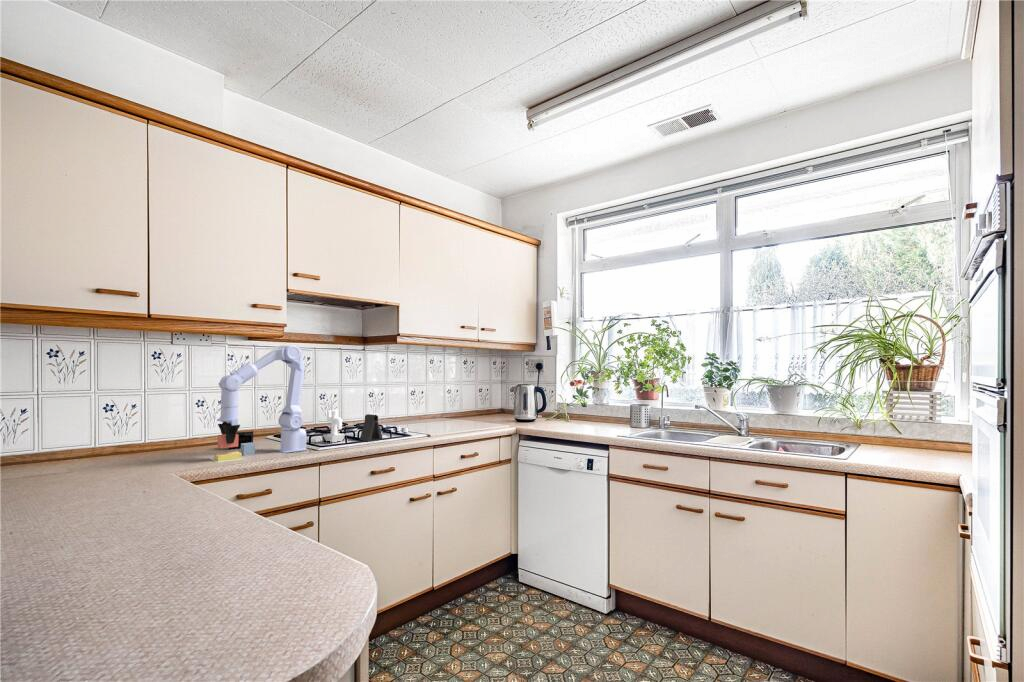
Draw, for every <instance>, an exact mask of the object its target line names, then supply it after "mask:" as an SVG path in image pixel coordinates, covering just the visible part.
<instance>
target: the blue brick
mask: <svg viewBox="0 0 1024 682" xmlns="http://www.w3.org/2000/svg"><path fill="white" fill-rule="evenodd" d="M240 453H242V456H244V457H246V456H251V455H254V456H255V454H256V444H255V443H254V442H253V443H252V442H251V443H242V444H241V449H240Z"/></svg>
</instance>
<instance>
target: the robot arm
mask: <svg viewBox="0 0 1024 682" xmlns="http://www.w3.org/2000/svg"><path fill="white" fill-rule="evenodd" d="M275 361H281V362H283V363H285V364H286V365H287V366H288V367H289V368H290V372H289V380H288V387H287V393H286V399H285V401H286V402H285V405H284V407H282V411H281V413H280V416H279V417H278V424H279V426H280V427H281V428H280V448H277V449H276V451H278V452H280V453H283V454H285V453H293V452H294V453H296V452H303V451H307V431H306V429H305V428H301V427H302V426H303V424H304V419H303V411H302V409H301V407H300V404H301V396H302V392H303V391H302V390H303V384H304V376H305V369H306V368H305V367H306V362H305V361H304V357H303V351H302V350H301V349H300V348H299V347H298V346H296V345H295V344H294V345H293V344H290V345H282V344H281V345H279V346H278V347H275V348H274V349H272V350H271V351H269V352H267V353H266V354H265V355H263V356H262V357H260V358H259V359H258V360H256V361H255V362H253V363H243V364H241V365H240V367H239V368H237V369H236V370H234V371H230V373H229V374H230V375H229V374H226V375H224V376H222V377H221V378H220V381H219V382H218V387H219V388H220V391H221V395H220V418H217V419H216V421H217V422H220V423H218V424H217V426H218V428H219V430H220V433H221V435H224V434H226V441H227V444H230V443H234V440H235V436H236V433H237V432H238V431H239V429H240V427H241V424H239V417H238V416H239V415H238V414H239V413H238V412H239V389H240V388H241V387H242V385H243V384H245V383H246V382H248V381H250V380H251V379H253V378H254V377H256V376H257V373H258V371H260V370H262V369H263V368H264V367H266V366H268V365H270V364H272V363H274V362H275Z"/></svg>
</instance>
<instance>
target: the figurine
mask: <svg viewBox="0 0 1024 682" xmlns="http://www.w3.org/2000/svg"><path fill="white" fill-rule="evenodd" d="M326 419H327V422H328V423H330V433H326V434H322V436H323V438H324V439H325V442H327V441H330V442H337V441H341V442H342V441H343V440H344V438H345V436H346V434H345V433H340V432H338V431H339V430H342V429H343V420H342V418H341V417H339V410H338V409H331V410H327V414H326Z"/></svg>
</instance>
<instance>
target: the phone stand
mask: <svg viewBox="0 0 1024 682" xmlns="http://www.w3.org/2000/svg"><path fill="white" fill-rule="evenodd" d="M364 415H365V416H364V422H363V427H362V430H361V432H360V436H359V441H360V440H363V441H362V442H366V441H370V442H375V441H374V440H376V441H380V439H382V440H383V435H382V432H381V427H380V424H379V416H378V415H377V414H369V413H367V414H366V413H365V414H364Z"/></svg>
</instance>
